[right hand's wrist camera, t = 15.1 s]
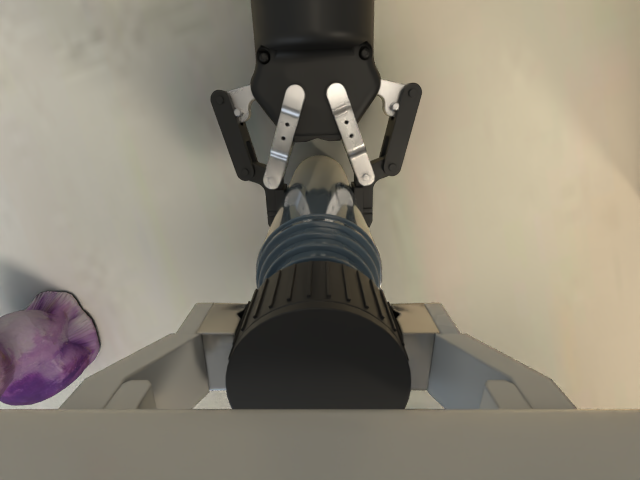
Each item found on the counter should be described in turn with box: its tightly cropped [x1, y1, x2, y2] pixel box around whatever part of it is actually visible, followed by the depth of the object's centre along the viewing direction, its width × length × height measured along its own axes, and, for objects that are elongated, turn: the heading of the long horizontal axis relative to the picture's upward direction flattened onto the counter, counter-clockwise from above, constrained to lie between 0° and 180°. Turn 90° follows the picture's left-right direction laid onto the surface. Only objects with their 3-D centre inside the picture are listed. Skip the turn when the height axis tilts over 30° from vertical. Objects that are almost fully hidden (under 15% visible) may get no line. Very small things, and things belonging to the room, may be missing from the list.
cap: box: [225, 261, 411, 409], centre depth 9 cm, size 4×4×2 cm
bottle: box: [256, 155, 382, 290], centre depth 20 cm, size 5×5×25 cm
